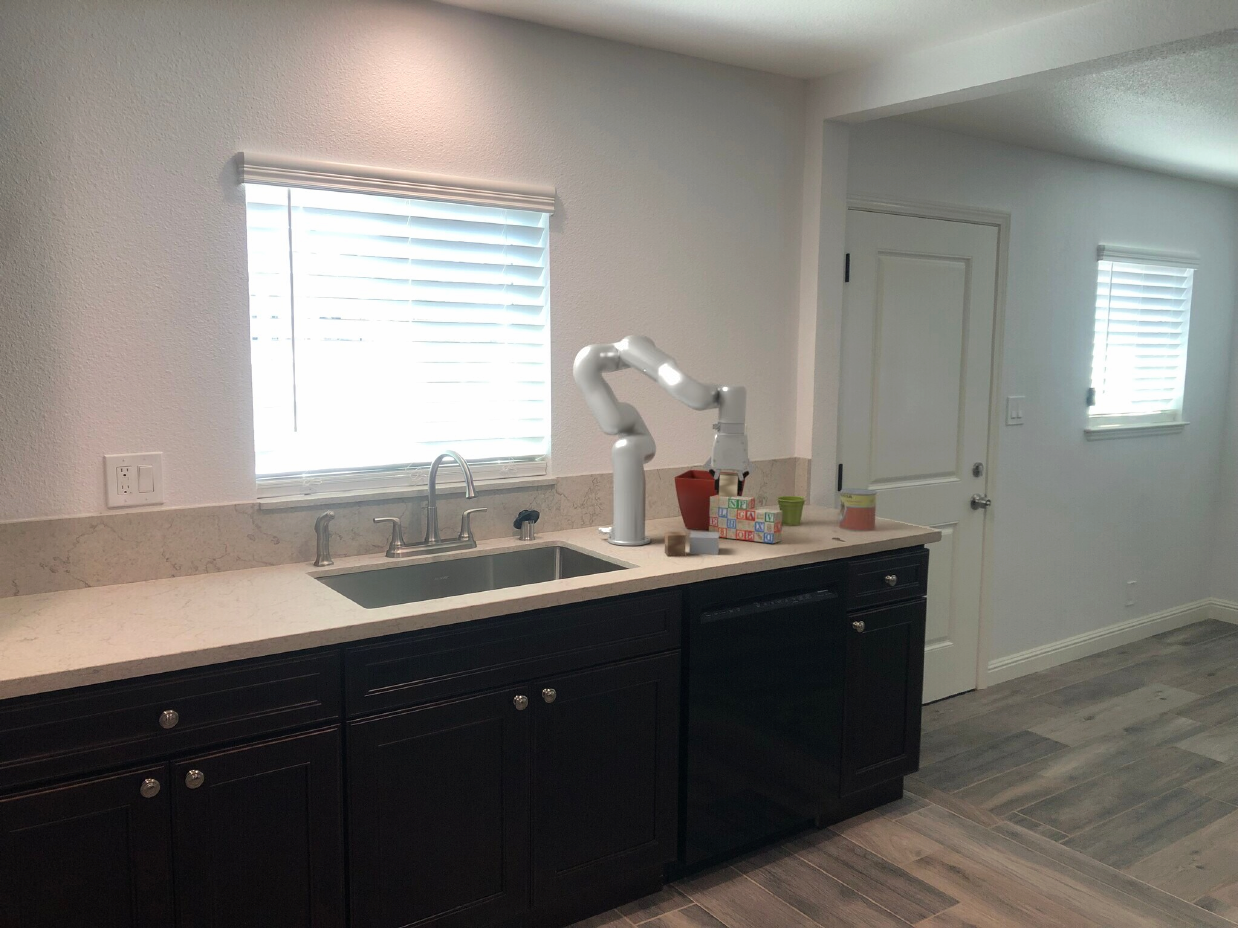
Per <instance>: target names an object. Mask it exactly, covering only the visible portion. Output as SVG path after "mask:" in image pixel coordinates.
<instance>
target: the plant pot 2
mask: <svg viewBox="0 0 1238 928" xmlns="http://www.w3.org/2000/svg"><path fill="white" fill-rule="evenodd" d="M776 501H777V504H778V507H779V510H780V511H782V525H783V526H786V527H787V526H793V527H797V526H800V525H801V521H802V515H803V508H804V505H805V502H806V501H807V498H805V497H802V496H796V495H783V496H778V497H776Z"/></svg>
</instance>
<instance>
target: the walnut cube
mask: <svg viewBox="0 0 1238 928" xmlns="http://www.w3.org/2000/svg"><path fill="white" fill-rule="evenodd" d="M686 537H687V535H686V534H685V533H684V532H683V531H665V532H664V554H665V555H666V557H669V558H670V557H675V558H676V557H686V541H687V539H686Z"/></svg>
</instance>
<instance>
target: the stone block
mask: <svg viewBox="0 0 1238 928" xmlns="http://www.w3.org/2000/svg"><path fill="white" fill-rule="evenodd" d="M719 549H720V537H719V532H709V531H690V534H689V551H688V552H689V554H690V555H707V556H708V555H709V556H710V555H712V556H718V555H719V551H720V550H719Z"/></svg>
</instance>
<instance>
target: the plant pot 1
mask: <svg viewBox="0 0 1238 928" xmlns="http://www.w3.org/2000/svg"><path fill="white" fill-rule="evenodd" d="M714 471H715V472H716V470H714ZM720 473H734V474H738V472H730V471H728V472H727V471H720ZM738 477H739V476H738ZM719 478H720V474H719ZM745 482H746V478H745V479H743V480H742V491H739V495H737V496H740V497H743V496H742V495H743V491H744V487H745V484H746V483H745ZM674 484H675V485H674V486H675V493H676V497H677V502H678V507H679V512H680V514H681V519H682V521H683V524H684V527H685V528H686V529H691V530H702V531H709V521H710V497H711V496H715V495H719V493H718V494H717V490H714V488H715V479H714V477H713V476H712V475H711V474H710V473H709V472H708V471H707V470H702V469H688V470H687V471H685V472H684V471H683V472H682V473H680V474H679V475H677V476H675V477H674Z"/></svg>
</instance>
